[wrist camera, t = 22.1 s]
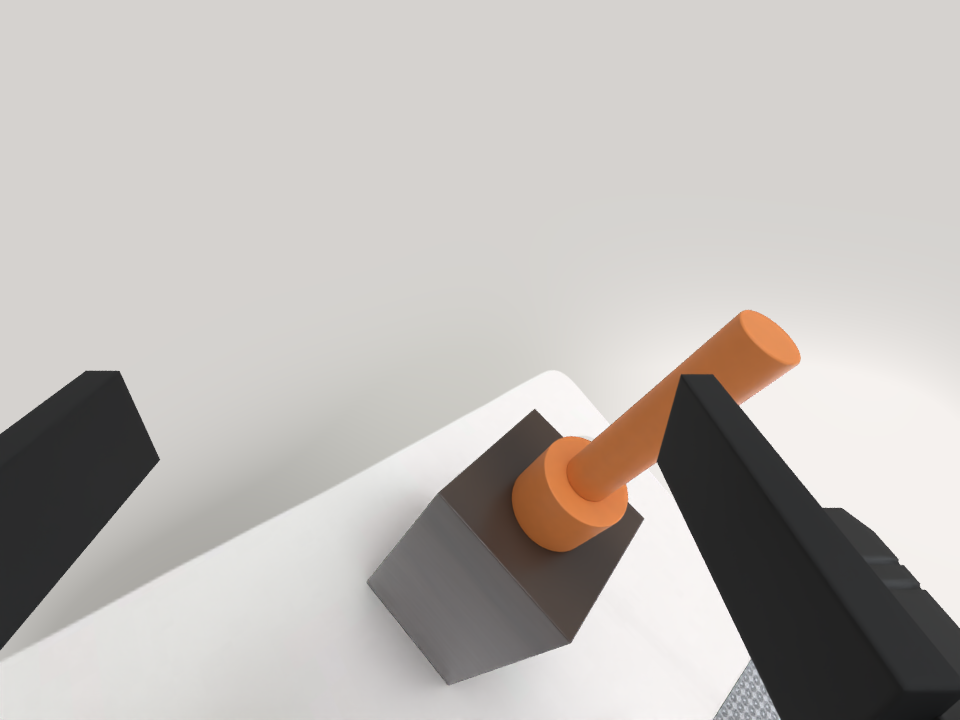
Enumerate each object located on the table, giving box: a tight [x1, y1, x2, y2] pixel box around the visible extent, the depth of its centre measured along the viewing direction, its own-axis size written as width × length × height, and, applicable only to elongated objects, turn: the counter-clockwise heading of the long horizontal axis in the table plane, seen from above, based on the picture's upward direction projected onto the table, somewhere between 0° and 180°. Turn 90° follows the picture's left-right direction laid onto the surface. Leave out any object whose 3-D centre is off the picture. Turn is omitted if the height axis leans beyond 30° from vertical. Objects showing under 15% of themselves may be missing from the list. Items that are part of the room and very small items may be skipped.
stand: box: [367, 409, 644, 685], centre depth 34 cm, size 10×10×18 cm
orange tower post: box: [512, 310, 801, 552], centre depth 22 cm, size 5×5×16 cm
